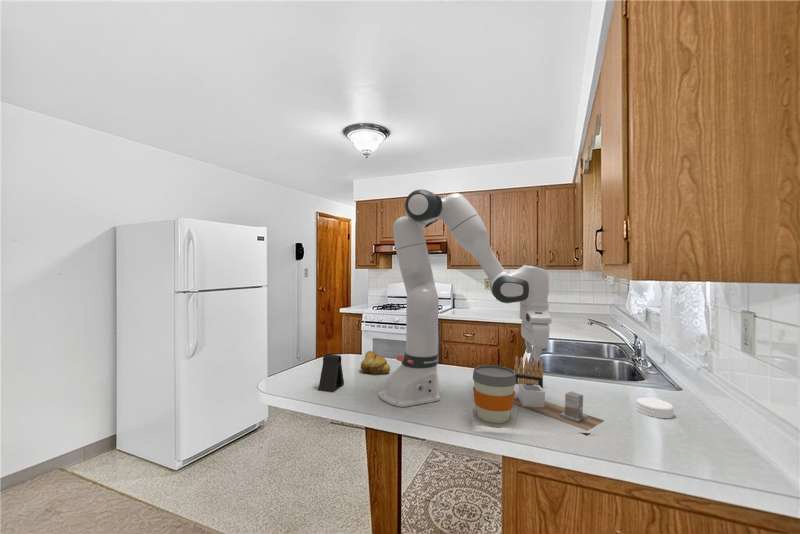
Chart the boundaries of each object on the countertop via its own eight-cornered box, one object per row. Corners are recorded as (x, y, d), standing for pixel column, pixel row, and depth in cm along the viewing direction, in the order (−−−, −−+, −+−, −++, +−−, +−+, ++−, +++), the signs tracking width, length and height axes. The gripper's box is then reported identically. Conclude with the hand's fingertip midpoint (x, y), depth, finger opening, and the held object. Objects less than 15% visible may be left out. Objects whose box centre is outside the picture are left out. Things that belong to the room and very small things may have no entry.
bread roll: (394, 372, 157) (394, 353, 157) (382, 377, 148) (382, 358, 148) (368, 367, 163) (369, 349, 163) (355, 372, 154) (356, 353, 154)
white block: (544, 407, 117) (544, 390, 117) (523, 406, 118) (523, 388, 118) (538, 399, 124) (539, 383, 124) (518, 398, 124) (519, 382, 124)
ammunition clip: (543, 390, 138) (544, 358, 138) (542, 391, 136) (543, 359, 136) (513, 385, 142) (514, 355, 142) (512, 387, 141) (513, 356, 141)
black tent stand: (333, 392, 130) (334, 358, 130) (318, 390, 131) (318, 357, 131) (344, 384, 138) (345, 353, 138) (329, 382, 140) (330, 351, 140)
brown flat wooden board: (587, 435, 101) (588, 405, 101) (506, 405, 122) (507, 380, 121) (604, 425, 108) (605, 396, 108) (525, 398, 128) (526, 374, 128)
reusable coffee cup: (509, 434, 101) (511, 380, 101) (465, 423, 107) (467, 372, 107) (518, 418, 112) (520, 369, 112) (478, 409, 118) (479, 362, 118)
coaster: (628, 409, 122) (629, 398, 122) (649, 405, 126) (650, 395, 126) (659, 421, 113) (659, 410, 113) (680, 417, 117) (681, 406, 117)
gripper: (517, 310, 131) (516, 348, 131) (531, 318, 111) (530, 364, 111) (535, 310, 130) (534, 349, 131) (553, 319, 110) (552, 365, 110)
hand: (532, 356), depth 121 cm, fingers open, 8 cm apart
